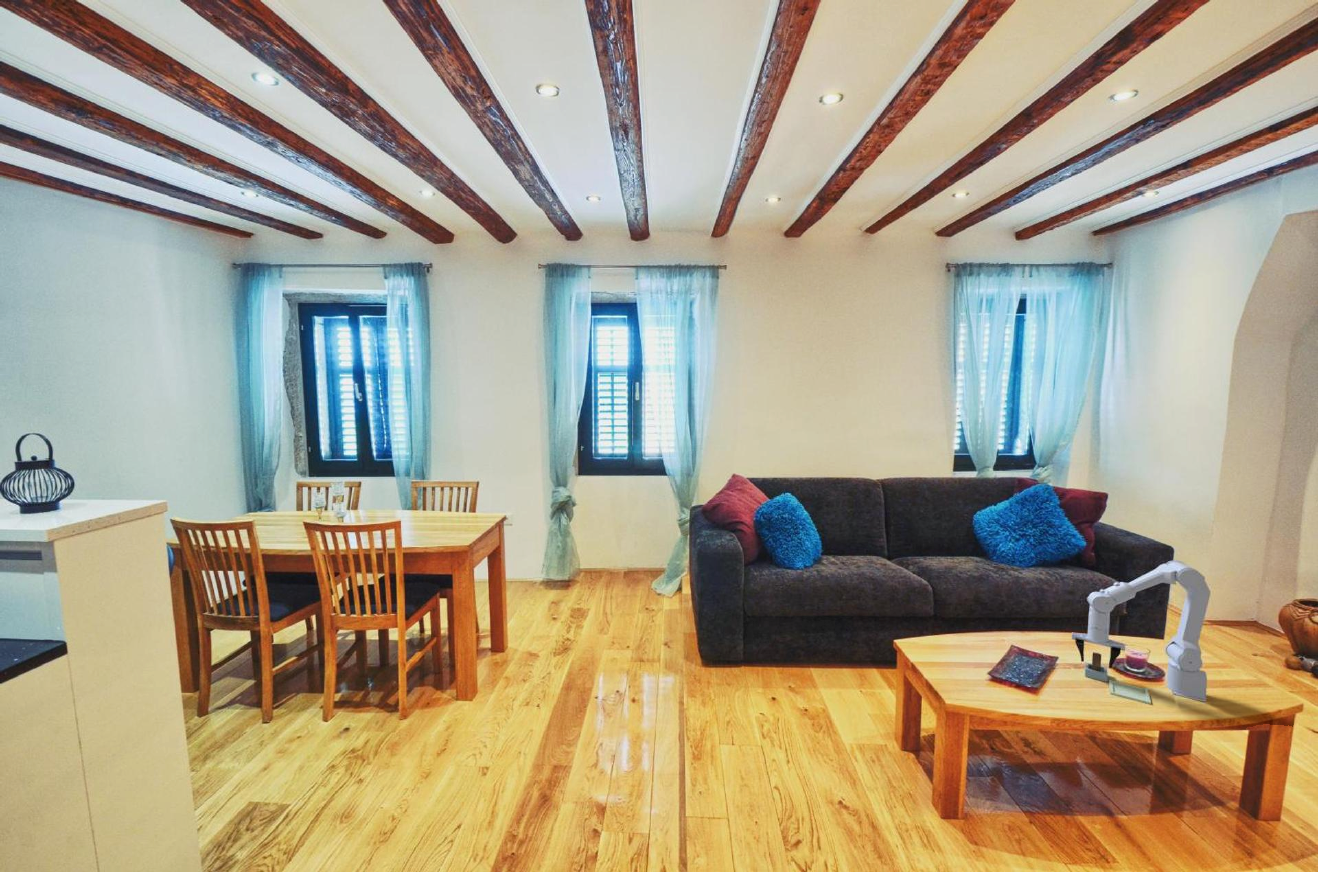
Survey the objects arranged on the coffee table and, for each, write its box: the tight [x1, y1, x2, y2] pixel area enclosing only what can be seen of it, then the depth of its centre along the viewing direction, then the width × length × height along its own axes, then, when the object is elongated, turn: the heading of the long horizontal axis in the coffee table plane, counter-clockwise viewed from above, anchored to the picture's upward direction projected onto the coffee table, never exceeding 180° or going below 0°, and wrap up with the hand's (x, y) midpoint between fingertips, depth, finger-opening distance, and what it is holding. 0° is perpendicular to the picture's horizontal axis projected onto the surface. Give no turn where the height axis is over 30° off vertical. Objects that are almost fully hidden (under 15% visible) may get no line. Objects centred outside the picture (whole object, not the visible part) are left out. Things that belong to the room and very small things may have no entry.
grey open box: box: [1084, 662, 1109, 683], centre depth 189 cm, size 6×6×3 cm
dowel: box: [1091, 652, 1102, 671], centre depth 189 cm, size 2×2×8 cm
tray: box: [1108, 679, 1152, 705], centre depth 179 cm, size 10×10×1 cm
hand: (1096, 663), depth 189 cm, fingers open, 7 cm apart
